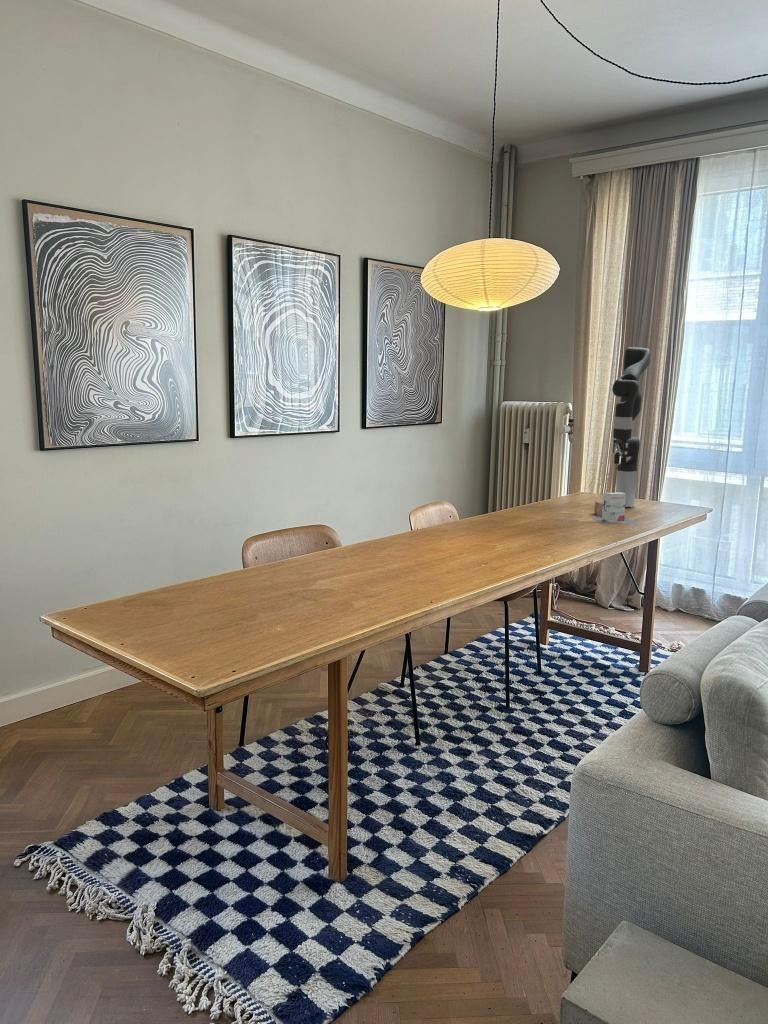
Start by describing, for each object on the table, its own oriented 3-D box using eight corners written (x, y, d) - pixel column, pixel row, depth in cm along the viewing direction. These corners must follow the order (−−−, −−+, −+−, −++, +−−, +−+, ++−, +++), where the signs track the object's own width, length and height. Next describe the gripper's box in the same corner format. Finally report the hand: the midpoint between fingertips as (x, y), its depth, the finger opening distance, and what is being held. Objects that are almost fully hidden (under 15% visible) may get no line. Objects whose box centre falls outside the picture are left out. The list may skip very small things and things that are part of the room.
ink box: (617, 518, 335) (619, 491, 333) (624, 520, 331) (627, 493, 329) (600, 519, 332) (602, 492, 330) (608, 521, 328) (610, 494, 326)
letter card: (589, 517, 339) (589, 516, 339) (625, 517, 340) (625, 517, 339) (600, 524, 323) (600, 523, 323) (638, 525, 324) (638, 524, 324)
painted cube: (594, 514, 348) (595, 500, 347) (607, 514, 348) (608, 501, 347) (598, 516, 342) (599, 503, 341) (611, 516, 342) (612, 503, 341)
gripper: (608, 425, 335) (606, 462, 338) (619, 429, 321) (616, 467, 324) (625, 426, 335) (622, 462, 338) (637, 429, 321) (634, 467, 324)
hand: (619, 465), depth 331 cm, fingers open, 8 cm apart
